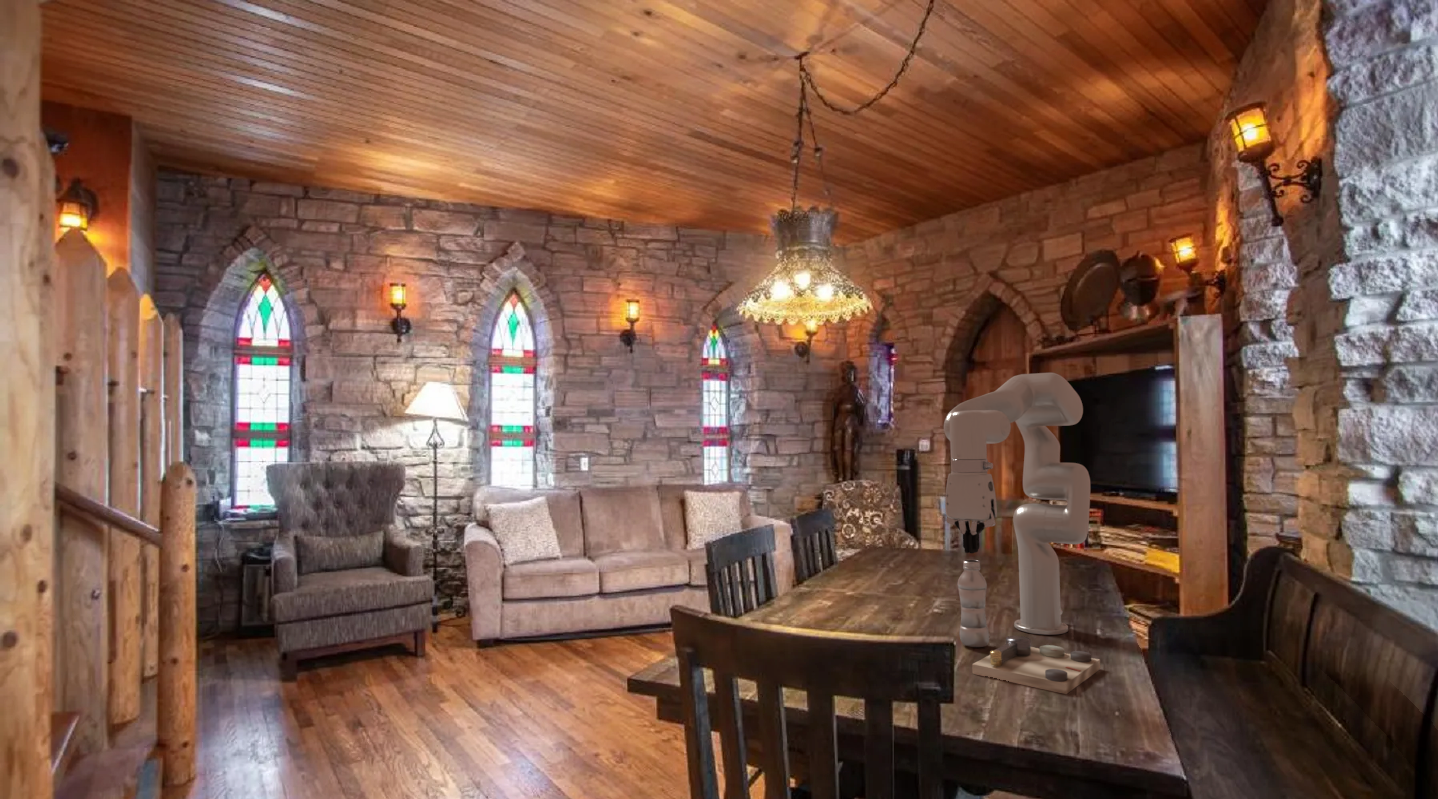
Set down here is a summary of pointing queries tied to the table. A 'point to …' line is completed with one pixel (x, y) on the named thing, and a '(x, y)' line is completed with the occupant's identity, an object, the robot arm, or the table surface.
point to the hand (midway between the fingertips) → (971, 552)
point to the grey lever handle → (1010, 650)
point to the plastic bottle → (973, 605)
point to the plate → (1043, 668)
